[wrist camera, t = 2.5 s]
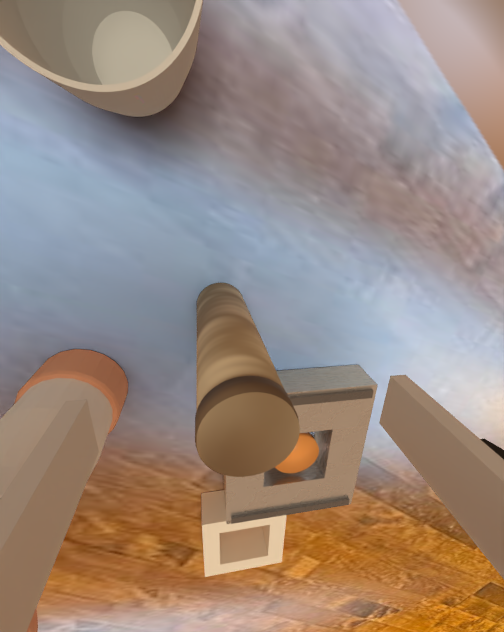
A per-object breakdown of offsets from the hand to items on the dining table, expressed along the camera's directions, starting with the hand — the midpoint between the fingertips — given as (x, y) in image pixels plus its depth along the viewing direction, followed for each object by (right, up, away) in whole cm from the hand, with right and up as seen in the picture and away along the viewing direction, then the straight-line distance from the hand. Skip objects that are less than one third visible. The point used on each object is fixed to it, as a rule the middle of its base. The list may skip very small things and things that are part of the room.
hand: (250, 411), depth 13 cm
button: (+4, -9, +17) cm, 20 cm away
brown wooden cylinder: (-3, +5, +12) cm, 13 cm away
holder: (-1, -20, +22) cm, 30 cm away
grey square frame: (+4, -9, +19) cm, 21 cm away
